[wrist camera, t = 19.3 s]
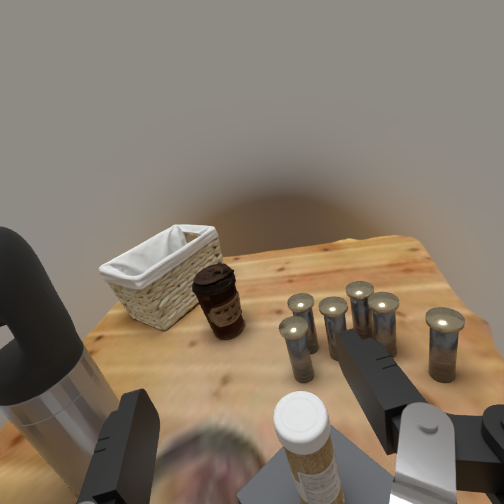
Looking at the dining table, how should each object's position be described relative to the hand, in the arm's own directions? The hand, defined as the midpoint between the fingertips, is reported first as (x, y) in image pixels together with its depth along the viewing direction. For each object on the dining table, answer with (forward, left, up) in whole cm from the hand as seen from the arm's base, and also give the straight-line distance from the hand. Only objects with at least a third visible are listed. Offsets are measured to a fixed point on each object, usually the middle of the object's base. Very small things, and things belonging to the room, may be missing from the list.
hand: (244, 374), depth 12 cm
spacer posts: (-12, +22, -28) cm, 38 cm away
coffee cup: (-36, +15, -28) cm, 48 cm away
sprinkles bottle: (-5, +6, -27) cm, 28 cm away
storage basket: (-57, +13, -28) cm, 65 cm away
